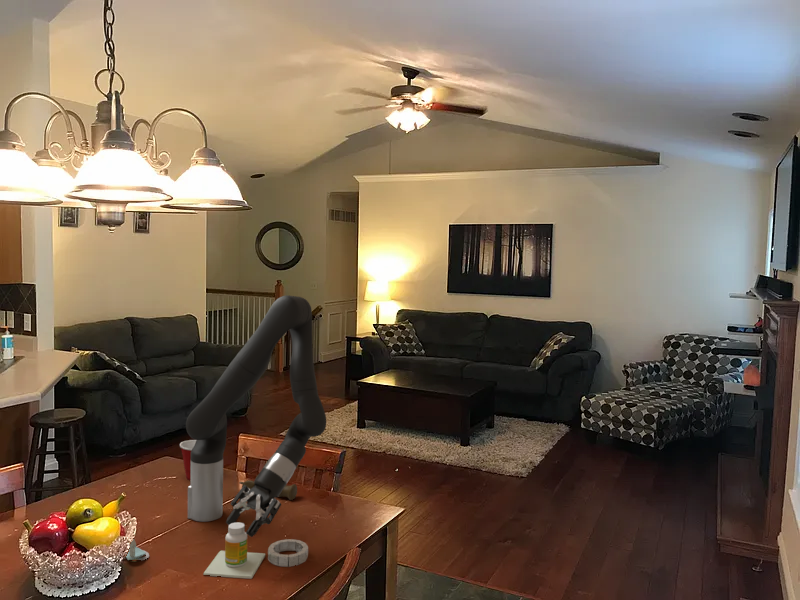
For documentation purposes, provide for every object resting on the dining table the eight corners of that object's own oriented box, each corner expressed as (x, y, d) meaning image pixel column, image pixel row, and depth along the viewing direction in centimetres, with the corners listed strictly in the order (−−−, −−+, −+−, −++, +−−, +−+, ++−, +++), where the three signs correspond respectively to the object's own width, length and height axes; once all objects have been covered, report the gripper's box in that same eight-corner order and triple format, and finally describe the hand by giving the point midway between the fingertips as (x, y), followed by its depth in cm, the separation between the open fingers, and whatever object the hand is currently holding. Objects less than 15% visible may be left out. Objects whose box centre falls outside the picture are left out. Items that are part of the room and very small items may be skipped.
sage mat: (203, 575, 159) (203, 573, 159) (220, 552, 171) (220, 550, 171) (251, 578, 159) (251, 576, 159) (265, 555, 171) (265, 553, 171)
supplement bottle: (241, 569, 162) (241, 531, 161) (221, 566, 163) (221, 528, 162) (250, 559, 167) (251, 522, 166) (230, 556, 168) (231, 519, 168)
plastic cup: (210, 482, 221) (211, 447, 220) (177, 483, 219) (177, 448, 218) (213, 471, 231) (213, 438, 230) (181, 472, 229) (181, 439, 228)
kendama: (287, 507, 204) (231, 496, 210) (300, 496, 213) (246, 486, 219) (288, 488, 204) (231, 478, 209) (301, 478, 213) (247, 469, 218)
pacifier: (139, 550, 172) (117, 557, 167) (140, 526, 172) (118, 533, 167) (154, 559, 167) (132, 567, 163) (155, 535, 167) (132, 542, 162)
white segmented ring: (263, 565, 166) (263, 555, 165) (274, 547, 175) (274, 538, 175) (302, 567, 165) (302, 558, 165) (310, 549, 175) (311, 540, 175)
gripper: (250, 460, 175) (213, 514, 167) (285, 474, 166) (247, 531, 158) (266, 475, 180) (230, 528, 172) (300, 489, 171) (264, 545, 163)
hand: (238, 530), depth 165 cm, fingers open, 8 cm apart
